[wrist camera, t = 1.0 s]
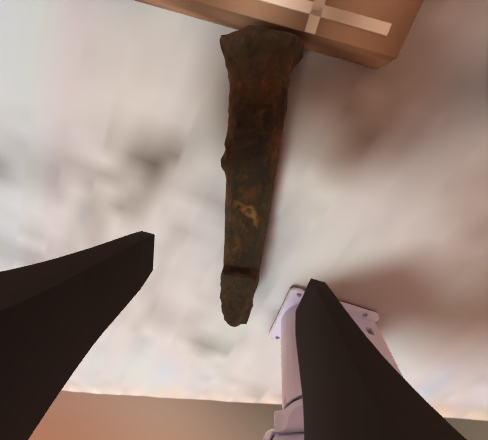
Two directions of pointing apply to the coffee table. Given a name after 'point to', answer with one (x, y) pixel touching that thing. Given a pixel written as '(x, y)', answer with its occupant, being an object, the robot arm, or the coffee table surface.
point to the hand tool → (252, 153)
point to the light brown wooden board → (317, 23)
